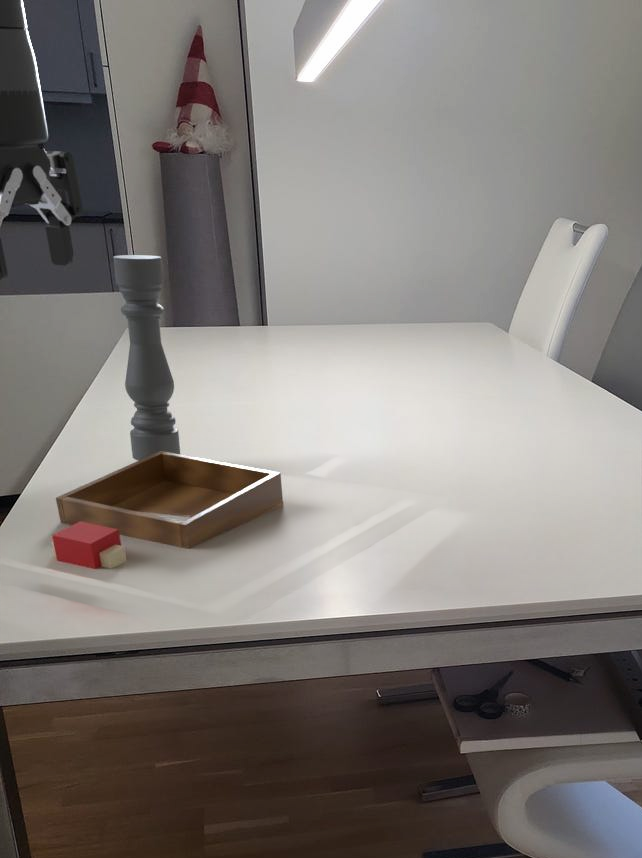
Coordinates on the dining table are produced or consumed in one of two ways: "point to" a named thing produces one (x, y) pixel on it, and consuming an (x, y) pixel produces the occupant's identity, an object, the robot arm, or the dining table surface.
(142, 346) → the candle holder
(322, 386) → the dining table surface
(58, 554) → the red and beige block
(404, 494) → the dining table surface
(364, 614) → the dining table surface
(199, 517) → the wooden tray
